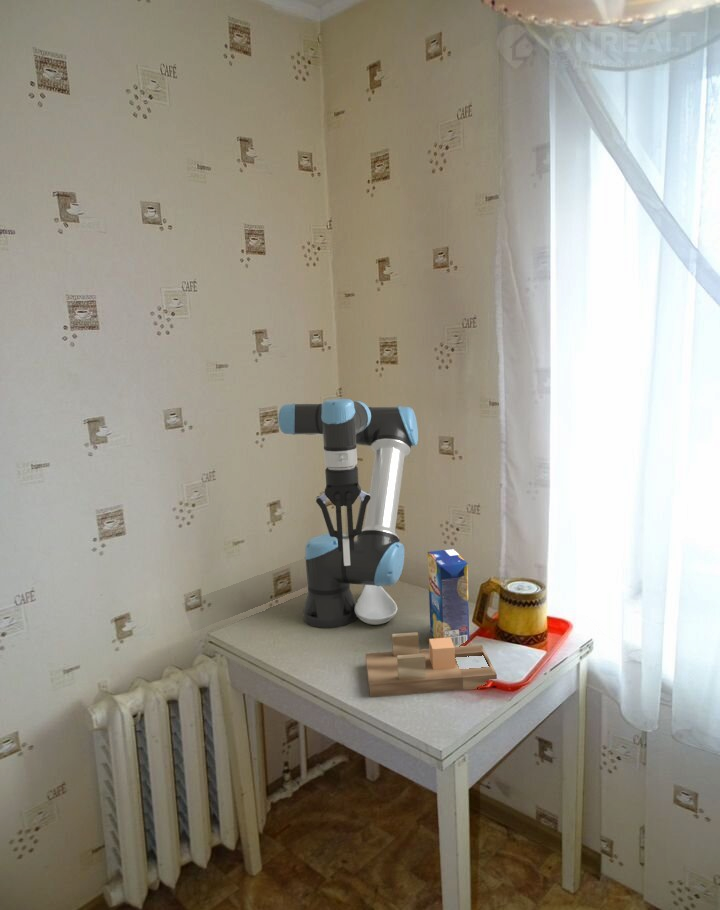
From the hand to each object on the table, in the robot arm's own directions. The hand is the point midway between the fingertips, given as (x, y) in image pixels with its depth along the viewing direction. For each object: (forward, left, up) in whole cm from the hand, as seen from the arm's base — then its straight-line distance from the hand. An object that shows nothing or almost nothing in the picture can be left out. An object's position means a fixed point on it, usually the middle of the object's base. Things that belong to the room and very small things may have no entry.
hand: (347, 563), depth 160 cm
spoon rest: (-26, +7, -25) cm, 37 cm away
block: (+11, +20, -21) cm, 31 cm away
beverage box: (-6, +25, -25) cm, 36 cm away
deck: (+11, +17, -24) cm, 32 cm away
